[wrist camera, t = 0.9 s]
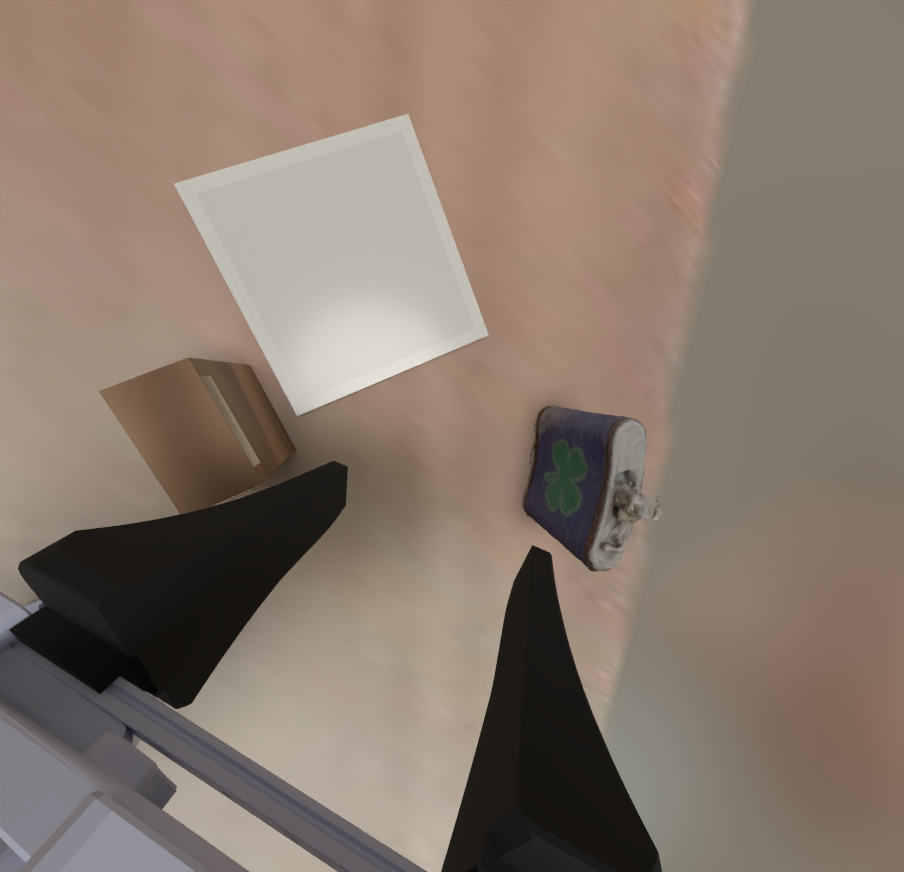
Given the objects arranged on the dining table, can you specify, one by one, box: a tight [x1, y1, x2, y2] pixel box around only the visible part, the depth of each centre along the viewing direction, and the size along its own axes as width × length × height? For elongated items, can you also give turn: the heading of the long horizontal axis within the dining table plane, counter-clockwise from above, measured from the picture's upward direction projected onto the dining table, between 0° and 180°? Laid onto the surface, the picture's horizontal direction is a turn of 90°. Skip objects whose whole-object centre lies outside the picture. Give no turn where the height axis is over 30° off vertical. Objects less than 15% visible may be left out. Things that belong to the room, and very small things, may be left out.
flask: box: [522, 406, 662, 571], centre depth 23 cm, size 9×3×11 cm, turn 172°
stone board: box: [174, 114, 488, 416], centre depth 22 cm, size 14×14×1 cm
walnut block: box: [99, 358, 296, 514], centre depth 19 cm, size 4×6×8 cm, turn 23°
